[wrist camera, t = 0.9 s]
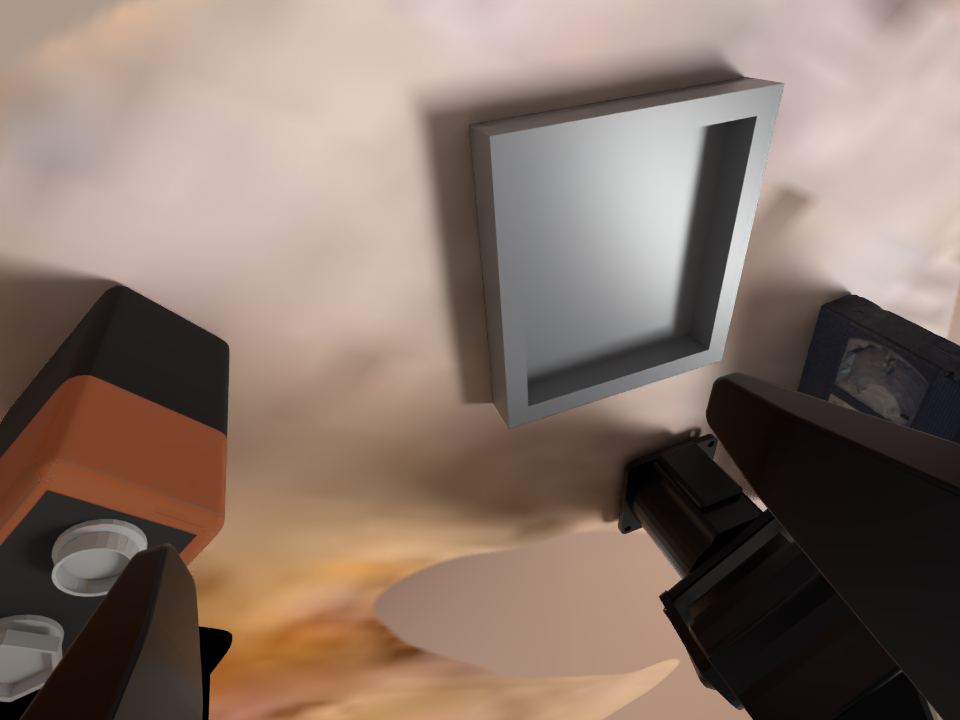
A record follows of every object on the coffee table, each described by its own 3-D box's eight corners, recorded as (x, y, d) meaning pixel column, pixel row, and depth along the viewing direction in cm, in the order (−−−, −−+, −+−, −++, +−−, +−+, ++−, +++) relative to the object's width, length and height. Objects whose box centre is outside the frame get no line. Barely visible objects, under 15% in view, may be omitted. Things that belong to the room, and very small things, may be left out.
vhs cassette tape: (819, 301, 32) (1006, 400, 24) (858, 287, 32) (1053, 380, 25) (761, 499, 43) (876, 611, 35) (791, 486, 43) (911, 593, 36)
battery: (1, 416, 19) (-167, 713, 11) (115, 274, 18) (18, 495, 10) (130, 461, 21) (67, 727, 14) (236, 341, 20) (234, 556, 12)
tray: (696, 341, 29) (722, 360, 28) (493, 403, 27) (509, 428, 25) (745, 77, 22) (784, 83, 20) (469, 124, 19) (489, 136, 17)
